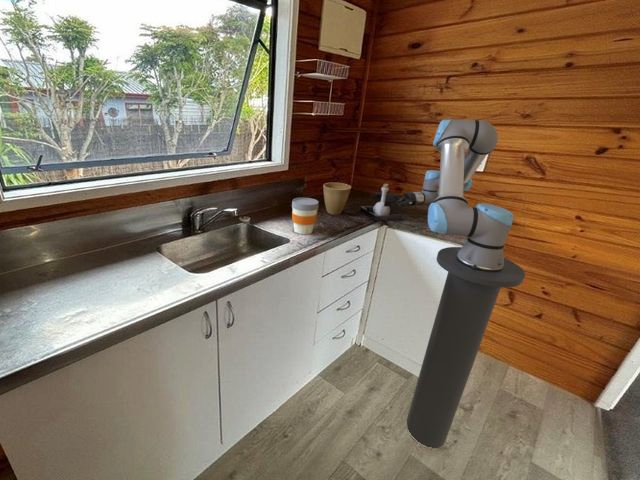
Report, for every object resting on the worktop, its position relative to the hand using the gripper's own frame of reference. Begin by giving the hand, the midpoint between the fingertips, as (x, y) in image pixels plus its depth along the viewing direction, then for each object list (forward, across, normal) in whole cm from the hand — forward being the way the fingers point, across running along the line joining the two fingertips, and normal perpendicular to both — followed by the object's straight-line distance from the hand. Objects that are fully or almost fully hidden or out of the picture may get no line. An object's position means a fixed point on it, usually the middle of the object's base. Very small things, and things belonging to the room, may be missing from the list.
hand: (377, 200), depth 167 cm
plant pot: (+21, +7, -9) cm, 24 cm away
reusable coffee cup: (+47, -16, -9) cm, 51 cm away
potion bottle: (-3, 0, -9) cm, 10 cm away
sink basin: (-3, 0, -9) cm, 10 cm away
